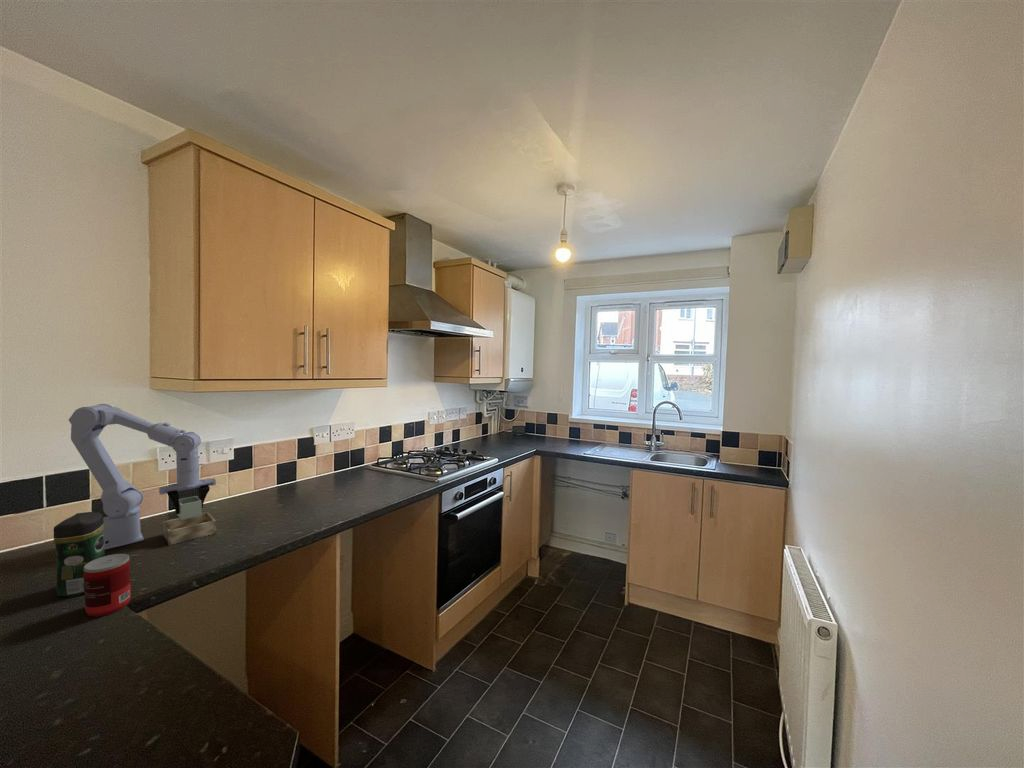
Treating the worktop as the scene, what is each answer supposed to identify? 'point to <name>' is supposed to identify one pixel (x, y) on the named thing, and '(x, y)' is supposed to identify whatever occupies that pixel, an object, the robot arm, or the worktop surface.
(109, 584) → the canned food
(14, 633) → the worktop surface
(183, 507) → the box
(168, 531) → the box
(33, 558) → the worktop surface
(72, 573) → the coffee jar
